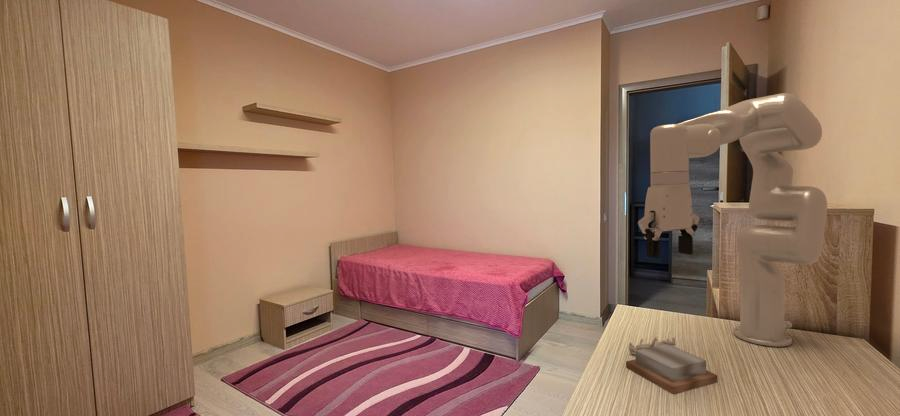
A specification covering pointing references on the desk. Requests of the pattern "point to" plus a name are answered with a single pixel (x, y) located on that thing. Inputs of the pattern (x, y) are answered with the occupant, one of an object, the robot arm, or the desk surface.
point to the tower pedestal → (671, 368)
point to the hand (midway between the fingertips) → (669, 255)
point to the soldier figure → (643, 346)
